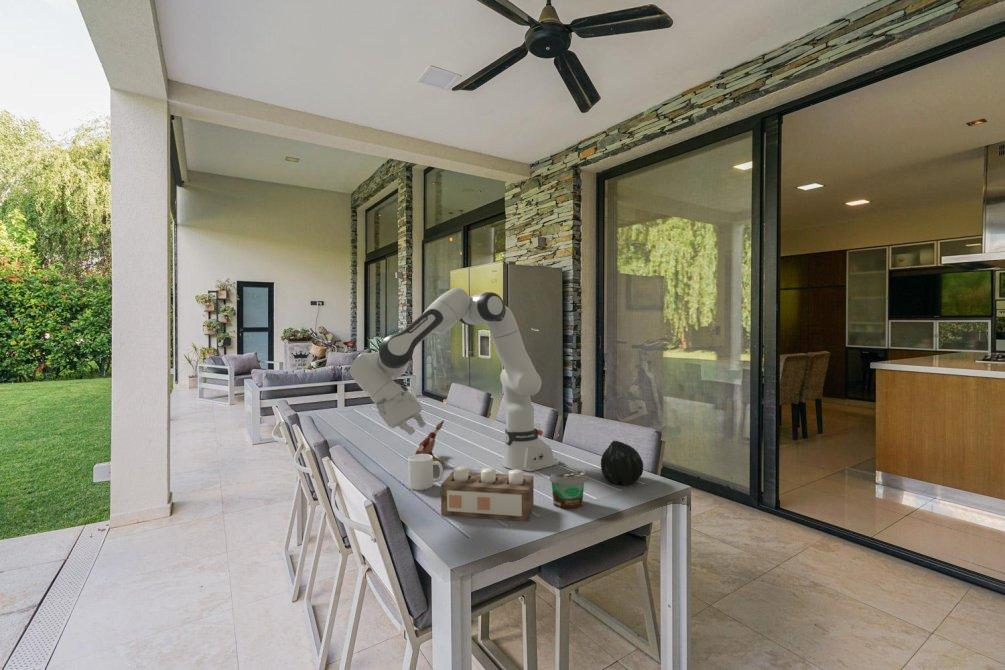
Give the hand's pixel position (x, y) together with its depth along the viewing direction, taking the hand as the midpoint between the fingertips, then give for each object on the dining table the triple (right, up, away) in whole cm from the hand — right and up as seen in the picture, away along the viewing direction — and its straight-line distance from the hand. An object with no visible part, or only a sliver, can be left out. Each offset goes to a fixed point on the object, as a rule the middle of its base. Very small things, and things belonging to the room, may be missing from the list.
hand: (418, 429), depth 143 cm
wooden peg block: (+22, -24, -3) cm, 32 cm away
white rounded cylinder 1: (+22, -17, -3) cm, 28 cm away
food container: (+47, -24, -1) cm, 53 cm away
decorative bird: (-4, -22, +42) cm, 48 cm away
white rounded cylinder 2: (+30, -17, -5) cm, 35 cm away
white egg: (+13, -17, -2) cm, 21 cm away
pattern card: (+21, -22, -10) cm, 32 cm away
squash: (+68, -23, +20) cm, 75 cm away
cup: (0, -23, +16) cm, 28 cm away
